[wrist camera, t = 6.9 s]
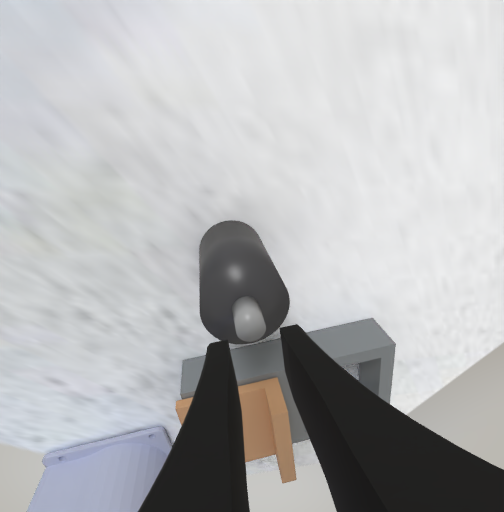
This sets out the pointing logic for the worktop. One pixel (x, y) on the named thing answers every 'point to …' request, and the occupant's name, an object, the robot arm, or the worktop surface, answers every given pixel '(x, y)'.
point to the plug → (239, 285)
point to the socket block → (331, 342)
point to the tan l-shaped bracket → (262, 424)
